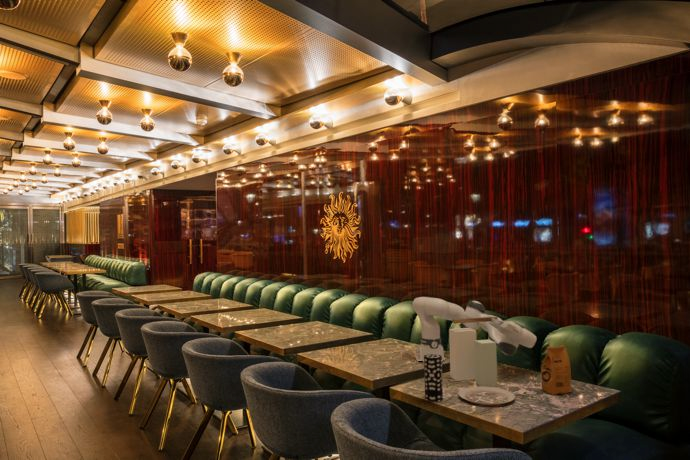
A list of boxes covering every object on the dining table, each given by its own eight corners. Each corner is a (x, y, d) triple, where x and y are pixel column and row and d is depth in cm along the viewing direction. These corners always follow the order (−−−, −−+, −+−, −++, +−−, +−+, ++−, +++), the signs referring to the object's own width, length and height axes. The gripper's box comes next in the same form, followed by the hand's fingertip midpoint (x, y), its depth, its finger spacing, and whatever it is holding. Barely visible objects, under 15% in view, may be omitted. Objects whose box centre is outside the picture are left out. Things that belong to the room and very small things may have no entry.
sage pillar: (475, 383, 256) (474, 340, 257) (489, 381, 258) (488, 339, 258) (482, 387, 249) (481, 343, 249) (497, 386, 250) (496, 342, 251)
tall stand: (450, 376, 269) (449, 329, 269) (471, 375, 271) (469, 327, 272) (456, 381, 261) (455, 331, 261) (477, 379, 263) (476, 330, 264)
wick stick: (452, 322, 267) (452, 319, 267) (495, 320, 271) (495, 316, 272) (454, 323, 264) (454, 319, 264) (497, 320, 269) (497, 317, 269)
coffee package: (538, 389, 243) (537, 344, 243) (560, 387, 246) (558, 343, 246) (552, 395, 233) (550, 349, 234) (574, 393, 236) (572, 347, 237)
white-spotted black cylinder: (421, 397, 234) (420, 355, 235) (436, 395, 238) (435, 353, 238) (431, 402, 227) (430, 359, 227) (446, 400, 230) (445, 357, 231)
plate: (448, 394, 239) (447, 390, 239) (491, 388, 248) (491, 384, 248) (479, 411, 215) (479, 406, 215) (527, 403, 224) (527, 398, 224)
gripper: (518, 338, 261) (496, 326, 259) (499, 331, 281) (479, 320, 279) (523, 327, 262) (501, 315, 260) (503, 321, 282) (483, 310, 280)
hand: (489, 318), depth 270 cm, fingers closed on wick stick, 3 cm apart
